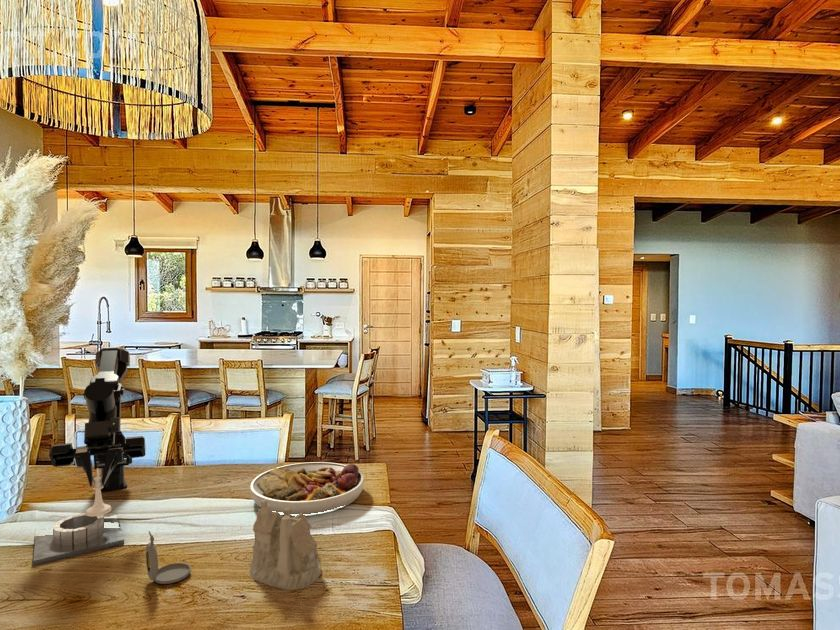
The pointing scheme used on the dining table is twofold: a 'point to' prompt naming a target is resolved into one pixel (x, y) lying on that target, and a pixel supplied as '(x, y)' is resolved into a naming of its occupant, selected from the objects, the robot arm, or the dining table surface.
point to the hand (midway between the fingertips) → (97, 485)
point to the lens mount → (76, 538)
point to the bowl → (308, 487)
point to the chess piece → (98, 499)
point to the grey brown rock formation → (284, 550)
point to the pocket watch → (164, 573)
